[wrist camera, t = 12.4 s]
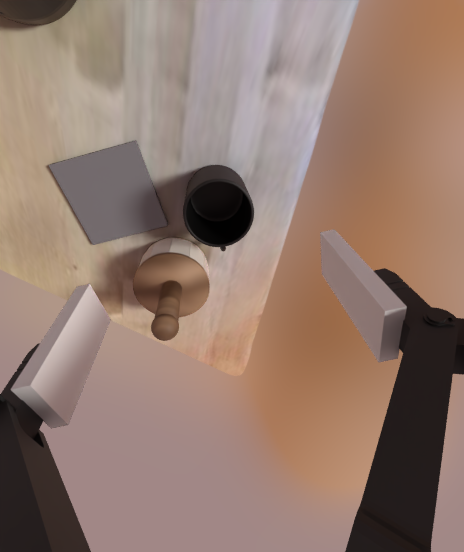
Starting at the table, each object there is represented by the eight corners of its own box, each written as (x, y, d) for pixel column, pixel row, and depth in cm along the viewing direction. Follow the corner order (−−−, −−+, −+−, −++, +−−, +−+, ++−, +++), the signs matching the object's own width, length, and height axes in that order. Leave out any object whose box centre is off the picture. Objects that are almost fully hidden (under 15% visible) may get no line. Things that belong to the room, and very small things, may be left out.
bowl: (132, 246, 49) (123, 264, 44) (196, 230, 48) (195, 245, 43) (157, 298, 55) (152, 319, 50) (214, 284, 55) (215, 303, 49)
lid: (121, 263, 44) (96, 312, 34) (196, 243, 43) (194, 288, 33) (151, 320, 50) (138, 376, 40) (217, 304, 50) (220, 357, 40)
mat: (50, 164, 41) (48, 165, 41) (136, 140, 41) (135, 141, 40) (94, 243, 48) (92, 245, 48) (168, 224, 47) (167, 225, 47)
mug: (194, 240, 49) (192, 266, 42) (181, 167, 43) (176, 183, 35) (248, 234, 50) (256, 259, 42) (243, 160, 43) (252, 174, 36)
